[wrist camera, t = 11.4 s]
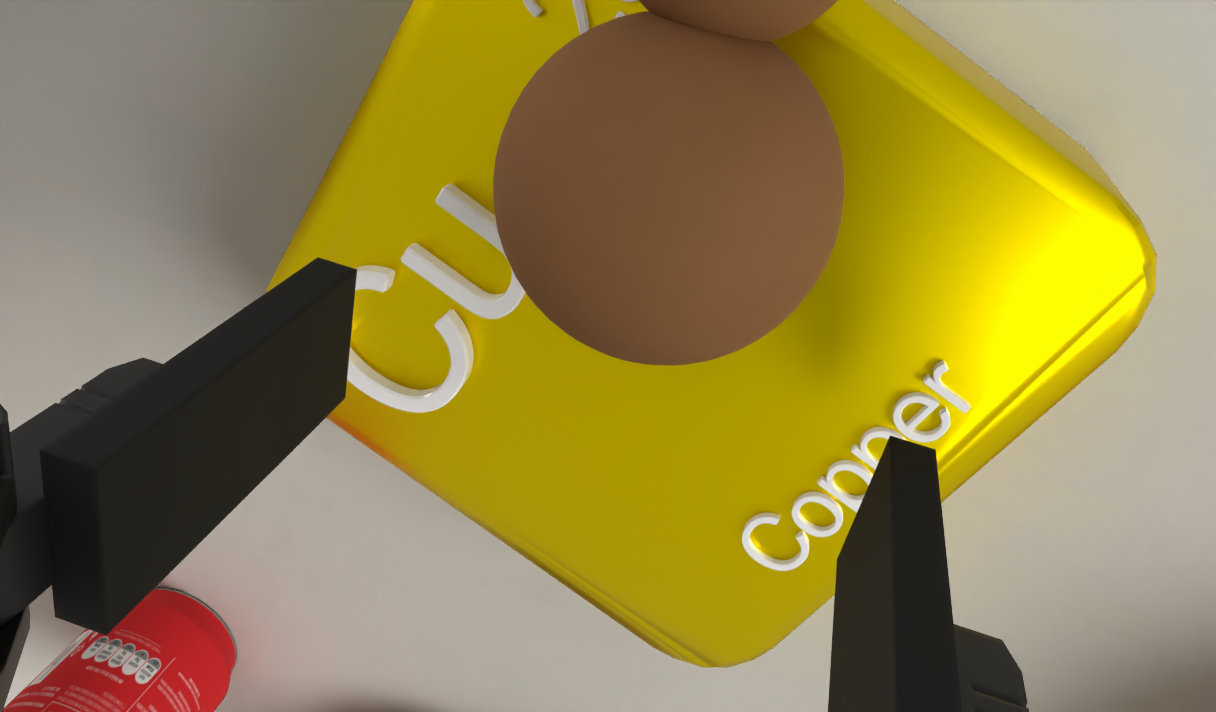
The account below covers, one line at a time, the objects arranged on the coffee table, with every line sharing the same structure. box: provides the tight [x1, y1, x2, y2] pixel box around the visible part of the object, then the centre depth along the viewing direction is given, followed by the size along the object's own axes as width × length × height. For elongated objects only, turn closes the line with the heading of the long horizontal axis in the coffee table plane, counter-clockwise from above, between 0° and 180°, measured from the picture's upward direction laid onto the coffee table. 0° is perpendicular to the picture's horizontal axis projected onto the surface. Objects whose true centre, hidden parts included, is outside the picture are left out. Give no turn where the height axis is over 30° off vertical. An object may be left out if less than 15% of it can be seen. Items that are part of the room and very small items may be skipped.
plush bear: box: [493, 0, 844, 366], centre depth 15 cm, size 6×6×10 cm
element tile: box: [266, 0, 1157, 668], centre depth 22 cm, size 15×15×5 cm
